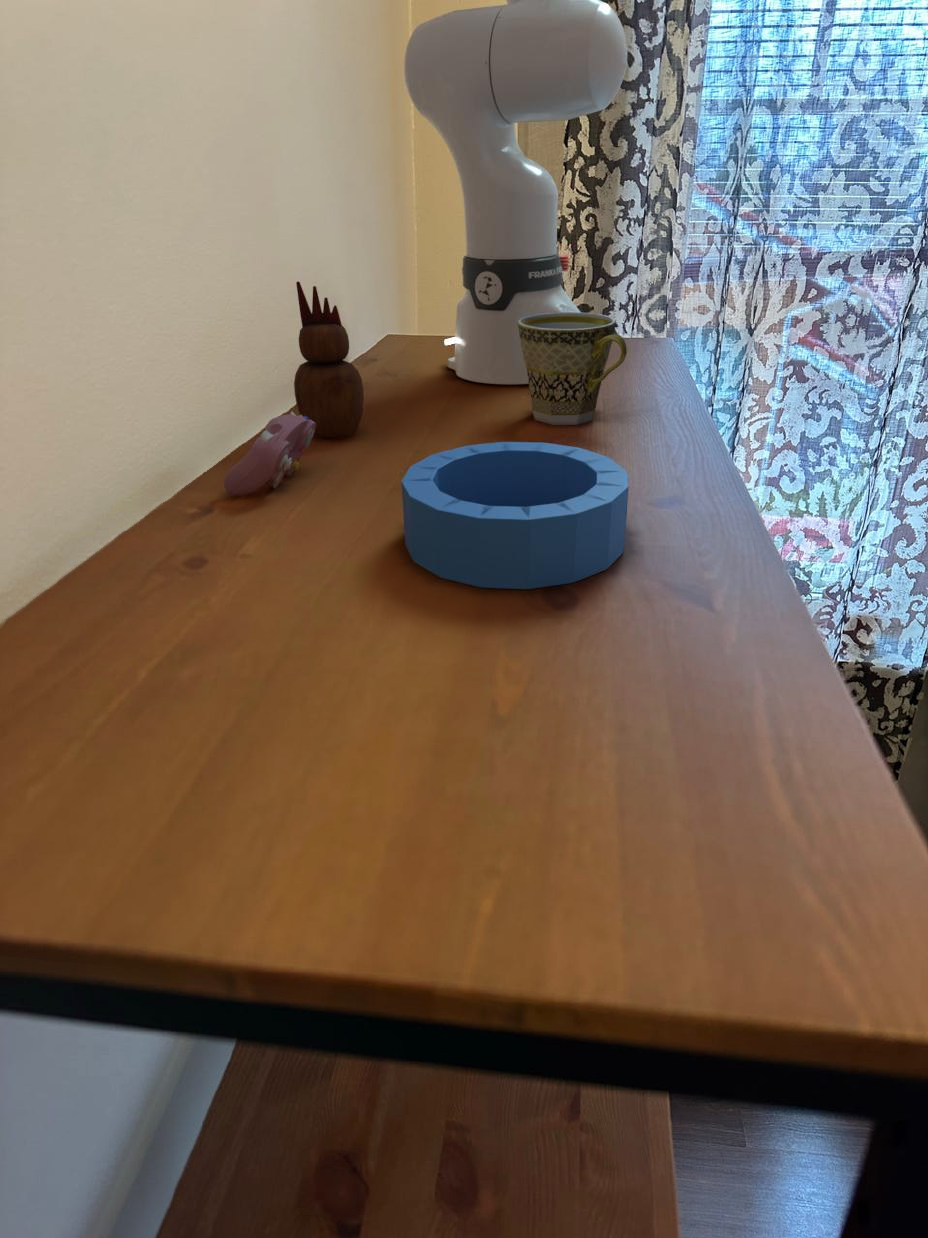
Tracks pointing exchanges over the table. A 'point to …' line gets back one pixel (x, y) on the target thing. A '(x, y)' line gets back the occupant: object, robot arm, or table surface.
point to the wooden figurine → (326, 372)
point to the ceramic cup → (567, 363)
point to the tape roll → (515, 514)
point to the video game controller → (271, 455)
